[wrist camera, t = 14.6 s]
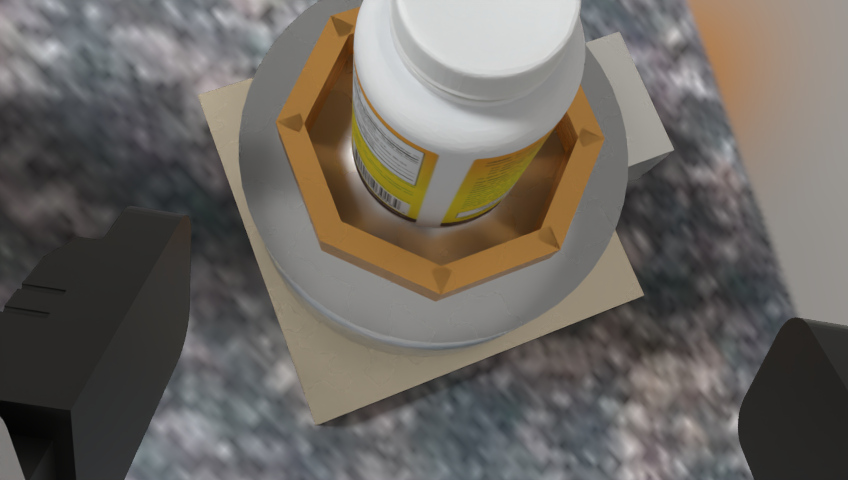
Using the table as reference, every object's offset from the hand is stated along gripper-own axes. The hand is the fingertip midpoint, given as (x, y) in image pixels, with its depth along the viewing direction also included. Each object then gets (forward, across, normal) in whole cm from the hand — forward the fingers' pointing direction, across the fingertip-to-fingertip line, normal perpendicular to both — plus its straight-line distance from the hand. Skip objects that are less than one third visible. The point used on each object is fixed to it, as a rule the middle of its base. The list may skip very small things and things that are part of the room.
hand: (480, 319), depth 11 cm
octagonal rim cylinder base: (+21, 0, +10) cm, 23 cm away
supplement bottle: (+15, 0, +5) cm, 16 cm away
